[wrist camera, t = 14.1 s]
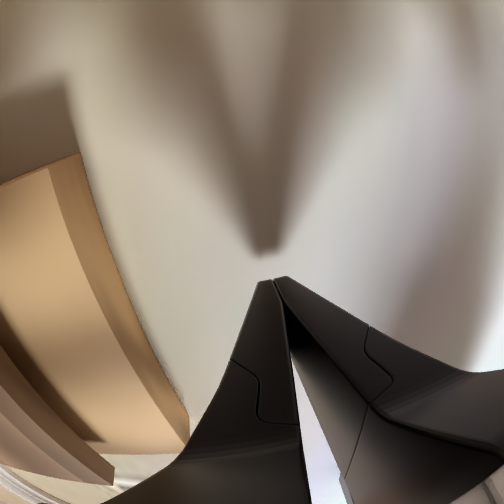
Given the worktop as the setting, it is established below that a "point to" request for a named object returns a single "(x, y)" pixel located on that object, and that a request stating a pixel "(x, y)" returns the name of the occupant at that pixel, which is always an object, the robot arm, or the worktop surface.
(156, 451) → the oak plank
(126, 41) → the worktop surface
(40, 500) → the molding
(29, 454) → the laid planks
